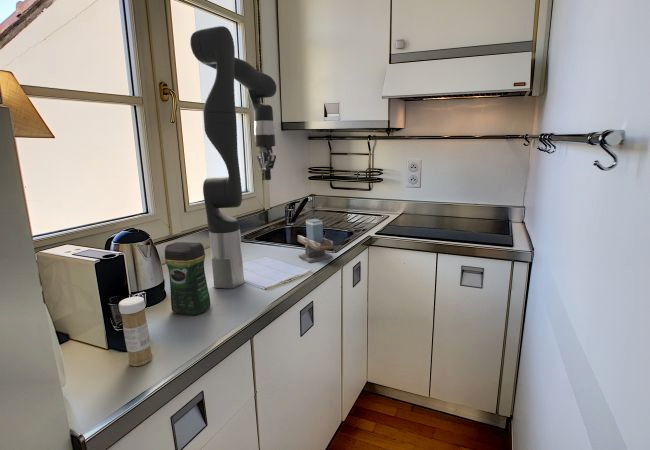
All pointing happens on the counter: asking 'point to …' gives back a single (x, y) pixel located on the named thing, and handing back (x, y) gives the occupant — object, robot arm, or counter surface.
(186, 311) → the coffee jar
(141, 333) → the sprinkles bottle
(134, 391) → the counter surface
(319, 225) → the blue gray lidded container
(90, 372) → the counter surface
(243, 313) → the counter surface
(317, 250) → the brown cleat
